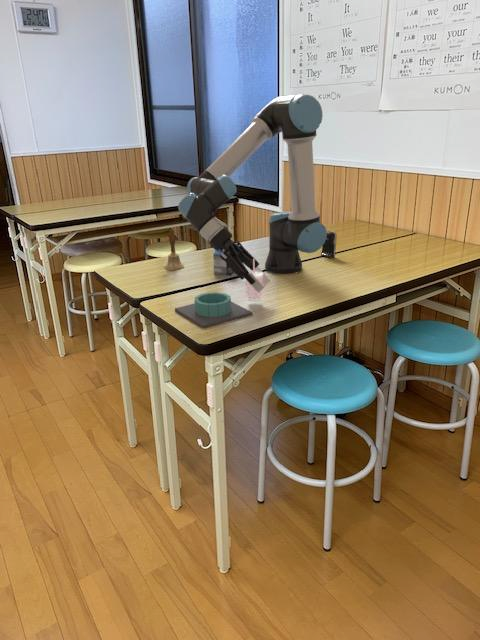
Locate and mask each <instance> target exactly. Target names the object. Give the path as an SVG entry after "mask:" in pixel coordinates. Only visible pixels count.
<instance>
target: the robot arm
mask: <svg viewBox="0 0 480 640" xmlns="http://www.w3.org/2000/svg"><path fill="white" fill-rule="evenodd" d="M322 120H323V108H322V106H321V103H320V102H319V101H318V100H317V98H316V97H314V96H313V95H310V94H305V93H300V94H293V95H281V96H277V97H276V98H274V99H273V100H271V101H270V102H269V103H268V104H266V105H265V106H264V107H263V108H262V109H261V110H260V111H259V112H258V113H257V114H256V115H255V116H254V117H253V118H252V119H251V124H249V126H248V127H247V128H245V130H244V131H243V132H242V133H241V134H240V135H239V136H238V137H237V138H236V139H235V140H234V141H233V142H232V143H231V144H230V145H229V146H228V147H227V148H226V149H225V150H224V151H223V152H222V153H221V154H220V155H219V156H218V157H217V158H216V159H215V160H214V161H213V162H212V163H211V164H210V165H209V166H208V167H207V168H206V169H205V170H204V171H203V172H201V174H200V175H199V176H195V177H191V179H190V180H189V181H188V182H187V185H186V190H187V193H188V194H187V195H186V196H184V197H183V198H182V199H181V200H180V201H179V202H178V206H177V208H178V211H179V212H180V213H181V215H182V216H183V217H184V219H185V220H186V221H187V222H188V223H190V225H192V227H193V228H194V229H195V230H196V231H197V232H198V233H199V234H200V235H201V237H202V238H204V240H205V241H206V242H208V243H209V245H210V246H211V248H213V250H214V251H215V250H216V251H217V250H219V249H220V250H221V252H222V254H221V255H220V258H222V259H223V260H224V261H225V262H226V263H227V264H228V265H229V267H230V268H231V269H232V270H233V271H234V272H235V273H236V274H235V275H236V276H237V277H238V279H241V280H242V281H243V280H245V281H246V280H247V281H248V282H249V283H250V284H251V285H252V287H253V288H254V289H255V290H256V291H257V292H258V293H259V292H260V291H261V290H262V291H263V289H264V288H265V286H267V285H268V284H269V283H271V279H270V278H269V276H267V274H266V273H264V272H263V270H261V268H260V267H259V266H260V263H259V262H258V261H257V259H256V258H255V257H254V256H253V255H252V254H251V253H250V252H249V251H248V250H247V249H246V248H245V247H244V246H243V245H242V243H241V242H240V241H237V242H235V241H233V240H232V238H233V234H232V233H231V232H230V230H228V228H226V227H225V226H224V225H225V224H223V223H222V221H220V220H219V219H218V217H217V216H216V215H214V214H215V213H216V211H217V210H219V209H220V208H221V207H222V206H223V205H224V204H226V203H227V202H228V201H229V200H231V199H232V198H233V196H235V194H237V192H238V191H237V189H238V188H237V185H236V184H235V182H234V181H233V180H232V178H231V176H232V175H233V174H234V173H235V172H236V171H238V169H239V168H240V167H241V166H242V165H243V164H244V163H245V162H246V161H247V160H248V159H249V158H250V157H251V156H252V155H253V154H254V153H255V152H256V151H257V150H258V149H259V148H260V147H261V146H262V145H263V144H264V143H265V142H266V141H270V140H272V139H273V138H274V137H275V136H277V135H278V134H280V133H282V141H284V142H285V143H286V145H287V158H288V171H289V188H290V203H291V211H283V212H274V213H272V214H270V216H269V221H268V224H269V225H268V226H269V227H268V228H269V229H268V230H269V238H268V239H269V242H268V244H269V245H268V247H269V251H268V254H267V256H266V257H267V258H266V260H265V263H264V270H265V271H267V272H268V273H272V274H279V275H288V274H289V275H291V274H296V272H297V273H299V272H301V271H302V270H303V262H302V259H301V255H300V252H302V253H307V254H312V253H315V252H317V251H319V250H320V249H321V248H322V245H323V244H324V242H325V240H326V236H327V231H328V230H327V227H326V226H325V225H324V224H323V223H321V218H320V217H321V215H320V212H319V211H317V210H316V195H315V177H314V176H315V172H314V150H313V141H314V140H315V138H316V137H317V130H318V129H319V127H320V125H321V124H322V122H323V121H322ZM326 230H327V231H326ZM299 251H300V252H299ZM253 259H254V261H255V271H259V272H262V273H263V277H262V284H261V283H260V281H259V280H258V279H257V278H256V277H255V276H254V275H253V274H252V273H251V272H250V271H249V270H248V269H247V268H249V269H250V270H251V271H253ZM246 267H247V268H246ZM249 272H250V273H249Z"/></svg>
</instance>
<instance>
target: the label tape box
mask: <svg viewBox="0 0 480 640" xmlns="http://www.w3.org/2000/svg"><path fill="white" fill-rule="evenodd" d="M221 254H222V252H221V250H220V249H219V250H217V251H216V250H215V249H214V252H213V256H212V257H213V274H214V275H226V276H235V275H236V273H235V272H234V271H233V270H232V269H231V268H230V267H229V265H228V264H227V263H226V262H225V261H224V260H223V259H222V258H220V255H221Z"/></svg>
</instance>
